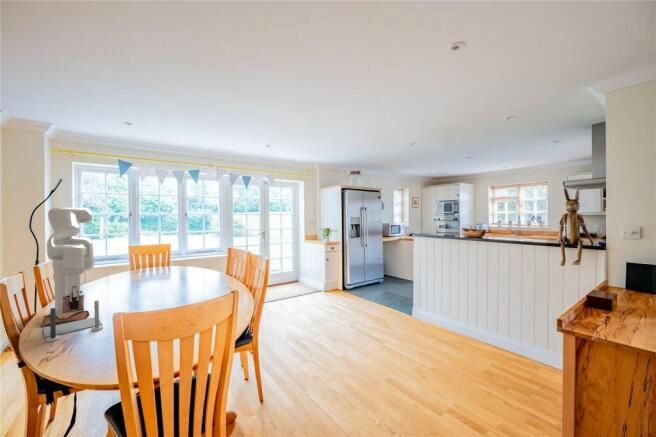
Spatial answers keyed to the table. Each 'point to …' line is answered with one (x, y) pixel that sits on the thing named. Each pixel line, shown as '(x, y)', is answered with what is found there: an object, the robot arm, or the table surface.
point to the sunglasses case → (66, 318)
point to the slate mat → (72, 326)
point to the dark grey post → (52, 326)
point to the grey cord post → (96, 317)
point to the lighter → (67, 300)
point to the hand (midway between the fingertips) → (73, 307)
